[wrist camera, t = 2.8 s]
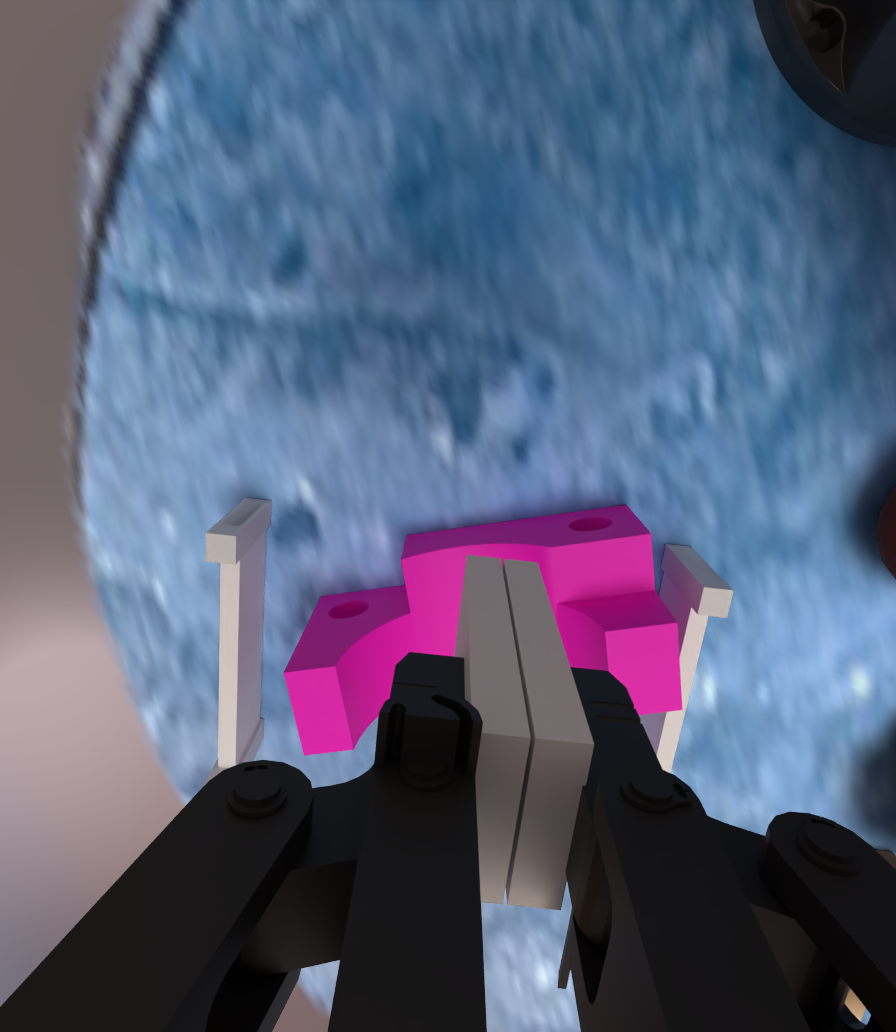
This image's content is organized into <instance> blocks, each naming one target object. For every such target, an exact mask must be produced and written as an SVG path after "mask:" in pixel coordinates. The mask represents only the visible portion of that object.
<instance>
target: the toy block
mask: <svg viewBox="0 0 896 1032" xmlns="http://www.w3.org/2000/svg"><path fill="white" fill-rule="evenodd" d="M467 555H474V556H483V557H493V558H501V563H502V567H503V560H504V559H511V560H520V561H529V562H538V565H539V568H540V572H541V575H542V578H543V581H544V584H545V588H546V591H547V594H548V597H549V601H550V604H551V607H552V610H553V613H554V617H555V620H556V623H557V626H558V629H559V633H560V636H561V639H562V642H563V646H564V649H565V652H566V655H567V658H568V662H569V665H570V667H576V668H586V669H595V670H605V671H609V672H610V673H611V674H612V675H613V676H614V677H615V678H617V679H618V680H619V681H620V682H621V683H622V684H623V685H624V686H625V687H626V688H627V690H628V692H629V695H630V697H631V699H632V701H633V704H634V709H636V710H637V713H638V715H645V714H653V713H662V712H670V711H678V710H682V693H681V676H680V659H679V642H678V625H677V621H676V620H675V618H674V617H673V616H672V614H671V613H670V611H669V610H668V608H667V607H666V606H665V604H664V603H663V601H662V600H661V598H660V597H659V596H658V594H657V593H656V591H655V582H654V567H653V553H652V538H651V533H650V532H649V531H648V529H647V528H646V527H645V526H644V525H643V524H642V522H641V521H640V520H639V519H638V518H637V517H636V515H635V514H634V513H633V512H632V511H631V510H630V508H629V507H628V506H627V505H621V506H613V507H606V508H599V509H592V510H585V511H577V512H570V513H563V514H556V515H548V516H541V517H534V518H527V519H520V520H512V521H505V522H498V523H491V524H484V525H476V526H469V527H462V528H455V529H448V530H440V531H433V532H426V533H419V534H411V535H407V536H406V540H405V545H404V549H403V553H402V557H401V563H402V569H403V574H404V580H405V585H402V586H395V587H387V588H380V589H372V590H365V591H357V592H350V593H342V594H335V595H327V596H321V597H320V599H319V601H318V604H317V606H316V608H315V610H314V612H313V614H312V616H311V618H310V620H309V622H308V624H307V626H306V628H305V630H304V632H303V634H302V636H301V638H300V640H299V642H298V645H297V647H296V649H295V651H294V653H293V655H292V657H291V659H290V661H289V663H288V665H287V667H286V669H285V671H284V676H285V680H286V684H287V688H288V692H289V696H290V700H291V704H292V708H293V712H294V716H295V720H296V724H297V728H298V732H299V737H300V741H301V745H302V749H303V753H304V755H311V754H320V753H328V752H336V751H345V750H353V749H354V748H355V746H356V744H357V742H358V740H359V738H360V737H361V735H362V734H363V732H364V731H365V730H366V729H367V727H368V726H369V725H370V724H371V723H372V722H373V721H374V720H375V719H376V718H377V717H378V716H379V711H380V709H381V708H382V706H383V704H384V702H385V701H386V700H388V699H389V698H390V693H391V687H392V682H393V676H394V671H395V665H396V664H397V663H398V662H399V661H400V660H401V659H402V658H404V657H405V656H406V655H407V654H408V653H409V652H416V653H425V654H434V655H444V656H453V657H454V652H455V644H456V636H457V628H458V620H459V612H460V604H461V596H462V588H463V580H464V572H465V564H466V556H467Z"/></svg>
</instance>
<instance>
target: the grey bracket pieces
mask: <svg viewBox="0 0 896 1032" xmlns="http://www.w3.org/2000/svg"><path fill="white" fill-rule="evenodd" d="M270 525H271V501H270V500H261V499H252V498H245V499H244V500H243V501H241V502H240V503H239V504H238V505H237V506H236V507H235V508H234V509H232V510H231V511H230V512H229V513H228V514H227V515H226V516H224V517H223V518H222V519H221V520H220V521H219V522H218V523H216V524H215V525H214V526H213V527H212V528H211V529H210V530H208V531H207V532H206V560H205V561H206V562H215V563H221V569H220V652H219V735H218V760H217V761H216V763H215V765H214V767H213V769H212V771H211V773H210V774H209V776H208V778H207V780H206V782H205V784H206V783H207V782H208V781H209V780H211V779H212V778H213V777H215V776H216V775H217V774H219V773H220V772H221V771H223V770H224V769H227V768H230V767H232V766H235V765H238V764H240V763H243V762H251V761H253V760H254V758H255V756H256V753H257V751H258V749H259V747H260V745H261V742H262V740H263V729H264V719H260V703H261V673H262V642H263V611H264V581H265V550H266V530H267V528H268V527H269V526H270ZM661 569H662V570H663V571H664V574H663V579H662V583H661V588H660V593H659V597H660V598H661V600H662V601H663V603H664V604H665V606H666V607H667V608H668V610H669V611H670V613H671V614H672V616H673V617H674V618H675V620H676V621H677V625H678V642H679V659H680V676H681V693H682V710H678V711H670V712H662V713H653V714H645V715H639V717H640V720H641V721H640V723H641V724H643V726H644V729H645V731H646V733H647V735H648V738H649V740H650V742H651V744H652V747H653V749H654V751H655V753H656V756H657V758H658V760H659V762H660V765H661V767H662V769H663V770H665V771H667V772H669V773H670V772H671V768H672V764H673V760H674V756H675V752H676V748H677V744H678V740H679V735H680V731H681V727H682V723H683V719H684V715H685V711H686V707H687V703H688V699H689V694H690V690H691V686H692V682H693V678H694V674H695V670H696V666H697V662H698V658H699V653H700V649H701V645H702V641H703V637H704V633H705V629H706V625H707V621H708V617H709V616H714V617H724V618H727V615H728V611H729V607H730V603H731V599H732V596H733V592H734V590H733V589H732V588H731V587H730V586H729V585H728V584H727V583H726V582H725V581H724V580H723V579H722V578H721V577H720V576H719V575H718V574H717V573H716V572H715V571H714V570H713V569H712V568H711V567H710V566H709V565H708V564H707V563H706V562H705V561H704V559H703V558H702V557H701V556H700V555H699V554H698V553H697V552H696V551H695V550H694V549H693V548H692V547H689V546H680V545H671V544H666V545H665V550H664V555H663V559H662V564H661ZM205 784H204V785H205Z"/></svg>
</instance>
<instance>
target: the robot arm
mask: <svg viewBox="0 0 896 1032" xmlns="http://www.w3.org/2000/svg"><path fill="white" fill-rule="evenodd" d="M753 1H754V5H755V10H756V14H757V18H758V21H759V25H760V28H761V31H762V34H763V37H764V39H765V42H766V44H767V47H768V49H769V51H770V53H771V55H772V57H773V59H774V61H775V63H776V65H777V67H778V68H779V70H780V72H781V73H782V75H783V76H784V78H785V79H786V81H787V82H788V84H789V85H790V86H791V88H792V89H793V90H794V91H795V92H796V94H797V95H798V96H799V97H800V98H801V99H802V100H803V101H804V102H805V103H806V104H807V105H808V106H809V107H810V108H811V109H812V110H813V111H814V112H816V113H817V114H818V115H819V116H820V117H822V118H823V119H825V120H826V121H828V122H829V123H830V124H832V125H834V126H835V127H837V128H839V129H841V130H842V131H844V132H846V133H849V134H851V135H853V136H855V137H858V138H861V139H863V140H866V141H869V142H873V143H877V144H881V145H886V146H892V147H896V0H753ZM640 721H641V720H640V717H639V715H638V713H637V710H636V709H634V704H633V701H632V699H631V697H630V695H629V692H628V690H627V688H626V687H625V686H624V685H623V684H622V683H621V682H620V681H619V680H618V679H617V678H615V677H614V676H613V675H612V674H611V673H610V672H609V671H605V670H595V669H586V668H576V667H570V665H569V662H568V658H567V655H566V652H565V649H564V646H563V642H562V639H561V636H560V633H559V629H558V626H557V623H556V620H555V617H554V613H553V610H552V607H551V604H550V601H549V597H548V594H547V591H546V588H545V584H544V581H543V578H542V575H541V572H540V568H539V565H538V562H529V561H520V560H511V559H504V560H503V567H502V563H501V558H493V557H483V556H474V555H467V556H466V564H465V572H464V580H463V588H462V596H461V604H460V612H459V620H458V628H457V636H456V644H455V652H454V657H453V656H444V655H434V654H425V653H416V652H409V653H408V654H407V655H406V656H405V657H404V658H402V659H401V660H400V661H399V662H398V663H397V664H396V665H395V671H394V676H393V682H392V687H391V693H390V698H389V699H388V700H386V701H385V702H384V704H383V706H382V708H381V709H380V711H379V718H378V729H377V740H376V751H375V762H374V765H373V766H372V767H371V768H370V769H369V770H368V771H367V772H365V773H364V774H362V775H361V776H359V777H357V778H355V779H353V780H350V781H348V782H345V783H341V784H336V785H332V786H325V787H318V788H312V786H311V781H310V780H309V779H308V778H307V777H306V776H305V775H304V774H303V773H302V772H301V771H300V770H299V769H297V768H295V767H292V766H290V765H288V764H286V763H284V762H276V761H268V760H259V761H251V762H243V763H240V764H238V765H235V766H232V767H230V768H227V769H224V770H223V771H221V772H220V773H219V774H217V775H216V776H215V777H213V778H212V779H211V780H209V781H208V782H207V783H206V784H205V785H204V787H203V788H202V789H201V790H200V791H199V792H198V793H197V794H196V795H195V796H194V797H193V798H192V800H191V801H190V802H189V803H188V804H187V805H186V806H185V807H184V808H183V809H182V810H181V811H180V813H179V814H178V815H177V816H176V817H175V818H174V819H173V820H172V821H171V822H170V824H168V826H167V827H166V828H165V829H164V830H163V831H162V832H161V833H160V834H159V836H157V837H156V839H155V840H154V841H153V842H152V843H151V844H150V845H149V846H148V847H147V848H146V849H145V851H144V852H143V853H142V854H141V855H140V856H139V857H138V858H137V859H136V860H135V861H134V863H133V864H132V865H131V866H130V867H129V868H128V869H127V870H126V871H125V872H124V874H122V876H121V877H120V878H119V879H118V880H117V881H116V882H115V883H114V884H113V885H112V886H111V887H110V889H109V890H108V891H107V892H106V893H105V894H104V895H103V896H102V897H101V898H100V899H99V900H98V901H97V903H96V904H95V905H94V906H93V907H92V908H91V909H90V910H89V911H88V912H87V913H86V915H85V916H84V917H83V918H82V919H81V920H80V921H79V922H78V923H77V924H76V925H75V927H74V928H73V929H72V930H71V931H70V932H69V933H68V934H67V935H66V936H65V937H64V938H63V939H62V941H61V942H60V943H59V944H58V945H57V946H56V947H55V948H54V949H53V950H52V951H51V952H50V954H49V955H48V956H47V957H46V958H45V959H44V960H43V961H42V962H41V963H40V964H39V966H38V967H37V968H36V969H35V970H34V971H33V972H32V973H31V974H30V975H29V976H28V977H27V979H26V980H25V981H24V982H23V983H22V984H21V985H20V986H19V987H18V989H16V990H15V992H14V993H13V994H12V995H11V996H10V997H9V998H8V999H7V1000H6V1001H5V1003H3V1005H2V1006H1V1007H0V1032H272V1031H273V1029H274V1027H275V1025H276V1023H277V1021H278V1019H279V1017H280V1015H281V1013H282V1011H283V1009H284V1007H285V1005H286V1003H287V1001H288V999H289V997H290V995H291V993H292V991H293V989H294V987H295V985H296V983H297V981H298V979H299V975H300V971H301V968H305V967H310V966H314V965H319V964H323V963H328V962H332V961H337V960H340V964H339V970H338V976H337V981H336V987H335V993H334V998H333V1004H332V1010H331V1015H330V1021H329V1027H328V1032H487V1028H486V1006H485V984H484V961H483V939H482V917H481V902H485V903H495V904H503V899H504V893H505V887H506V895H507V905H515V906H525V907H535V908H545V909H555V910H561V907H562V902H563V897H564V892H565V887H566V882H568V887H569V893H570V898H571V903H572V911H571V916H570V921H569V926H568V931H567V935H566V940H565V945H564V950H563V955H562V959H561V964H560V969H559V978H558V988H563V989H566V987H567V982H568V977H569V973H570V970H571V973H572V979H573V985H574V991H575V997H576V1004H577V1010H578V1016H579V1022H580V1028H581V1032H896V869H895V868H894V867H893V866H892V865H891V864H890V863H889V862H888V861H887V860H885V859H884V858H883V857H882V856H881V855H880V854H879V853H878V852H877V851H876V850H875V849H874V848H873V847H872V846H871V845H869V844H868V843H867V842H865V841H864V840H863V839H862V838H860V837H859V836H858V835H856V834H855V833H854V832H852V831H851V830H849V829H847V828H845V827H843V826H841V825H839V824H837V823H836V822H834V821H832V820H829V819H826V818H824V817H820V816H816V815H813V814H810V813H799V812H787V813H784V814H780V815H777V816H775V817H774V819H773V820H772V821H771V823H770V824H769V826H768V829H767V832H766V836H763V835H760V834H757V833H754V832H751V831H747V830H744V829H741V828H738V827H735V826H732V825H729V824H726V823H724V822H721V821H719V820H716V819H714V818H711V817H709V816H707V814H706V812H705V810H704V808H703V806H702V804H701V802H700V800H699V799H698V797H697V796H696V794H695V793H694V792H693V790H692V789H691V788H690V787H689V786H688V785H687V784H686V783H684V782H683V781H682V780H680V779H679V778H678V777H676V776H675V775H673V774H671V773H669V772H667V771H665V770H663V769H662V767H661V765H660V762H659V760H658V758H657V756H656V753H655V751H654V749H653V747H652V744H651V742H650V740H649V738H648V735H647V733H646V731H645V729H644V726H643V724H641V723H640ZM850 989H851V990H852V991H853V992H854V994H855V995H856V996H857V997H858V999H859V1000H860V1001H861V1002H862V1004H863V1005H864V1006H865V1007H866V1009H867V1010H868V1011H869V1012H870V1014H871V1017H870V1019H869V1022H868V1024H867V1025H865V1024H864V1023H862V1022H860V1021H859V1020H858V1018H857V1017H856V1016H855V1015H854V1014H853V1013H852V1012H851V1011H850V1010H849V1008H848V1007H847V1006H846V1004H845V1000H846V998H847V995H848V992H849V990H850Z"/></svg>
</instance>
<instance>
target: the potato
mask: <svg viewBox="0 0 896 1032" xmlns="http://www.w3.org/2000/svg"><path fill="white" fill-rule="evenodd" d="M877 542H878V546H879V550H880V554H881V558H882V561H883V562H884V564H885V565H886V567H887V568H888V570H889V571H890V572H891V574H892V575H893V576H894V578H895V579H896V486H895V487H894V488H893V490H892V491H891V492H890V494H889V495H888V497H887V499H886V501H885V503H884V505H883V506H882V508H881V510H880V513H879V520H878V526H877Z"/></svg>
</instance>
